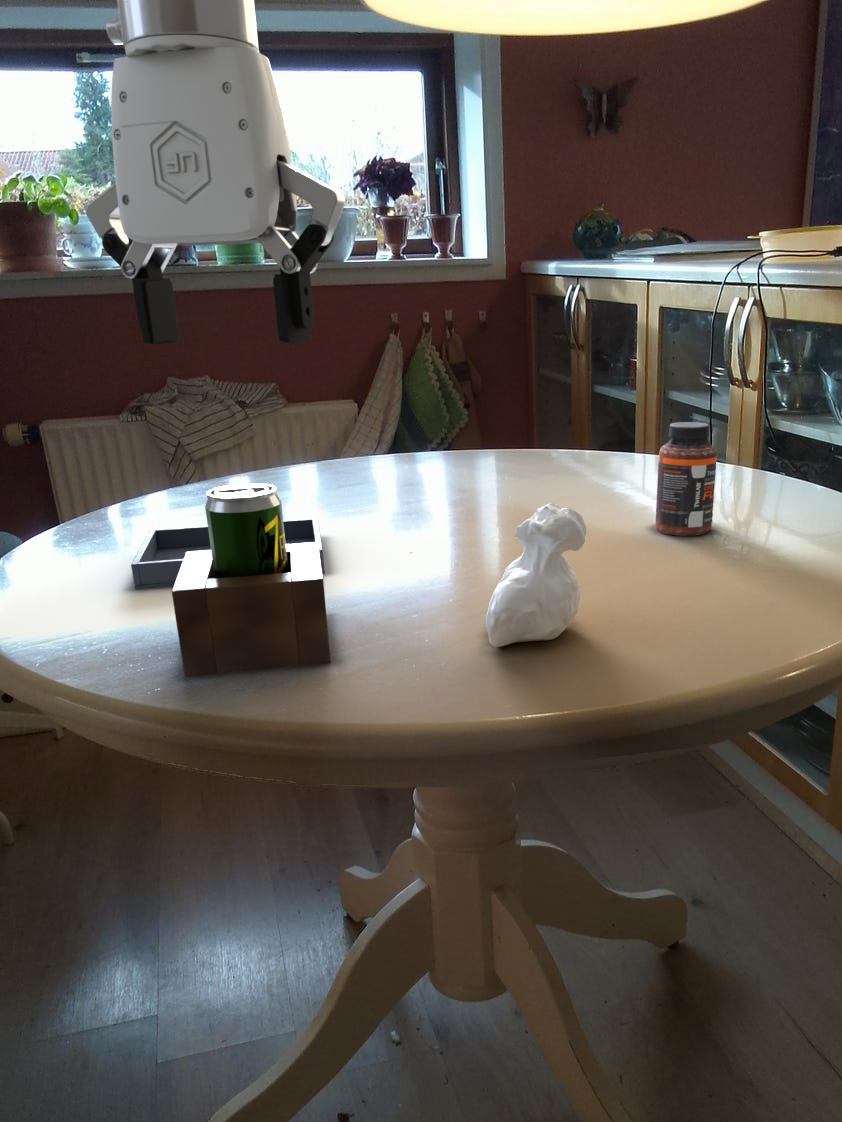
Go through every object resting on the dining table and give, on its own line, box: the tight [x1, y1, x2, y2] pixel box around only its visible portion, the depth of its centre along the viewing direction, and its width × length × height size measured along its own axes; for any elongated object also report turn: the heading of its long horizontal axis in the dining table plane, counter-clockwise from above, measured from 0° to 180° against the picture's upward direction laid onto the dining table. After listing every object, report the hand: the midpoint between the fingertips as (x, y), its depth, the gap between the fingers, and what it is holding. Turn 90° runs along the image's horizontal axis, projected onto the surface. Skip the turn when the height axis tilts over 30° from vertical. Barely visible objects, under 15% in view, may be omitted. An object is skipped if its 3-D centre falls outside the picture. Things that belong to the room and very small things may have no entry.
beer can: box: [204, 483, 289, 579], centre depth 68 cm, size 5×5×12 cm
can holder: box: [171, 542, 332, 678], centre depth 69 cm, size 10×10×6 cm
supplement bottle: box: [655, 421, 718, 537], centre depth 97 cm, size 6×6×11 cm
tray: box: [130, 517, 326, 590], centre depth 91 cm, size 17×13×2 cm
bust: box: [485, 501, 587, 648], centre depth 69 cm, size 12×8×11 cm
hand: (227, 342), depth 60 cm, fingers open, 9 cm apart
